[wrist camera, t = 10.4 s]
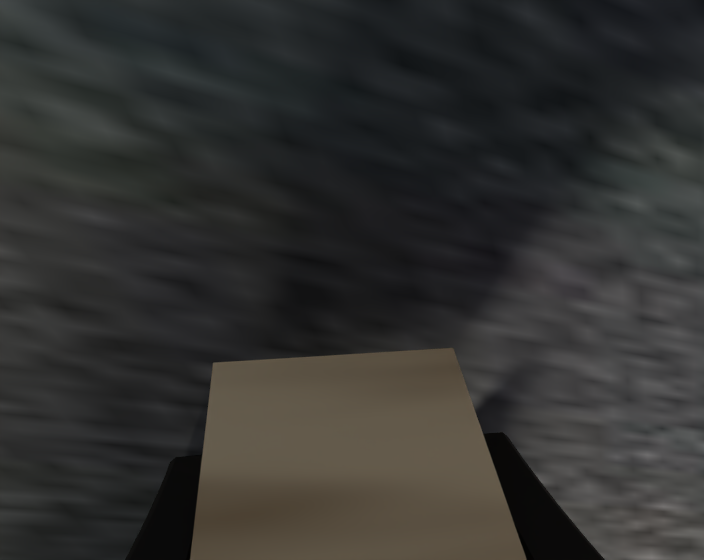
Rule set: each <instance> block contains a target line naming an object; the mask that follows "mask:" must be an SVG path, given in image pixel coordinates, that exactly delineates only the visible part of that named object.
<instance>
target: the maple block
mask: <svg viewBox="0 0 704 560" xmlns="http://www.w3.org/2000/svg"><path fill="white" fill-rule="evenodd" d="M190 560H527V559H526V556H525V553H524V551H523V548H522V545H521V542H520V539H519V536H518V533H517V530H516V528H515V525H514V522H513V519H512V516H511V513H510V510H509V507H508V505H507V502H506V499H505V496H504V493H503V490H502V487H501V484H500V481H499V479H498V476H497V473H496V470H495V467H494V464H493V461H492V458H491V456H490V453H489V450H488V447H487V444H486V441H485V438H484V435H483V433H482V430H481V427H480V424H479V421H478V418H477V415H476V412H475V410H474V407H473V404H472V401H471V398H470V395H469V392H468V389H467V387H466V384H465V381H464V378H463V375H462V372H461V369H460V366H459V363H458V361H457V358H456V355H455V352H454V349H453V348H442V349H426V350H410V351H394V352H378V353H362V354H346V355H330V356H313V357H297V358H281V359H265V360H249V361H233V362H217V363H213V369H212V377H211V386H210V394H209V403H208V411H207V420H206V428H205V437H204V445H203V454H202V462H201V471H200V479H199V488H198V496H197V505H196V513H195V522H194V530H193V539H192V547H191V556H190Z"/></svg>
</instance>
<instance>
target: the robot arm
mask: <svg viewBox="0 0 704 560" xmlns="http://www.w3.org/2000/svg"><path fill="white" fill-rule="evenodd" d="M483 435H484V438H485V441H486V444H487V447H488V450H489V453H490V456H491V458H492V461H493V464H494V467H495V470H496V473H497V476H498V479H499V481H500V484H501V487H502V490H503V493H504V496H505V499H506V502H507V505H508V507H509V510H510V513H511V516H512V519H513V522H514V525H515V528H516V530H517V533H518V536H519V539H520V542H521V545H522V548H523V551H524V553H525V556H526V559H527V560H605V559H604V558H603V557H602V556H601V555H600V554H599V553H598V551H597V550H596V549H595V548H594V547H593V546H592V545H591V543H590V542H589V541H588V540H587V539H586V538H585V536H584V535H583V534H582V533H581V532H580V530H579V529H578V528H577V527H576V526H575V524H574V523H573V522H572V521H571V520H570V518H569V517H568V516H567V515H566V514H565V512H564V511H563V510H562V509H561V507H560V506H559V505H558V504H557V502H556V501H555V500H554V499H553V497H552V496H551V495H550V493H549V492H548V491H547V490H546V488H545V487H544V486H543V484H542V483H541V482H540V481H539V479H538V478H537V477H536V475H535V474H534V473H533V471H532V470H531V469H530V467H529V466H528V464H527V463H526V462H525V460H524V459H523V458H522V456H521V455H520V453H519V452H518V451H517V449H516V448H515V446H514V445H513V444H512V442H511V441H510V439H509V438H508V437H507V436H506V435H505V434H504V433H503V432H500V433H487V434H483ZM201 462H202V455H200V456H186V457H176V458H175V459H173V460H172V461H171V462H170V464H169V467H168V469H167V472H166V475H165V477H164V480H163V482H162V484H161V487H160V489H159V492H158V494H157V496H156V498H155V501H154V503H153V505H152V507H151V509H150V511H149V514H148V516H147V518H146V520H145V522H144V524H143V526H142V528H141V530H140V532H139V534H138V536H137V538H136V540H135V542H134V544H133V546H132V548H131V550H130V552H129V553H128V555H127V557H126V559H125V560H190V556H191V547H192V539H193V530H194V522H195V513H196V505H197V496H198V488H199V479H200V471H201Z"/></svg>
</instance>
